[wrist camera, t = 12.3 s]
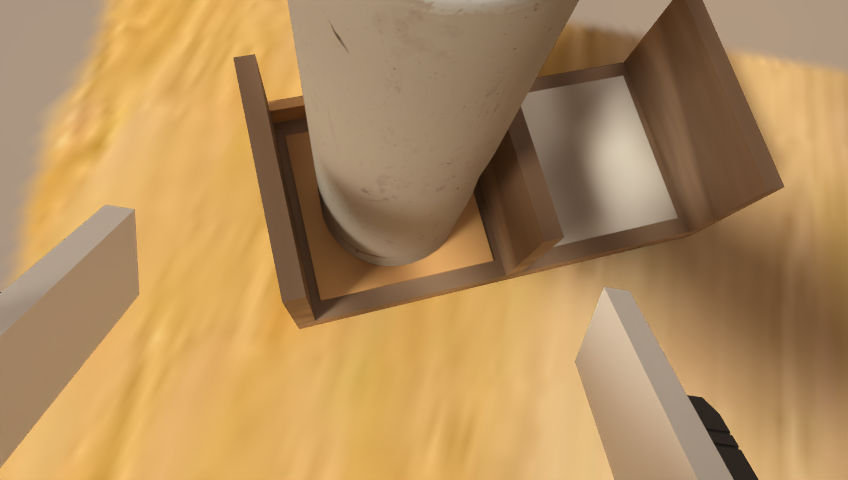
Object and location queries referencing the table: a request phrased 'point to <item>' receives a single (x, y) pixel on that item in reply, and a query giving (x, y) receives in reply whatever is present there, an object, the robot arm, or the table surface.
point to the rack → (537, 175)
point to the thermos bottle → (412, 108)
